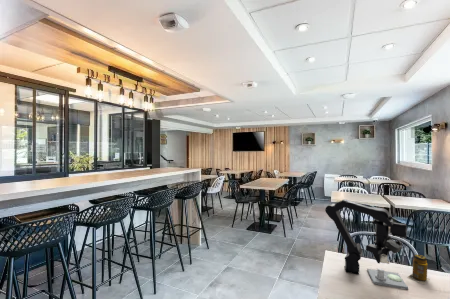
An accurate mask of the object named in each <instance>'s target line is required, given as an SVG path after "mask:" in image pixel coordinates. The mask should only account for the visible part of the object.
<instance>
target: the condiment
mask: <svg viewBox="0 0 450 299" xmlns="http://www.w3.org/2000/svg"><path fill="white" fill-rule="evenodd" d="M427 261H428V258H427V257H426V256H424V255H422V254H414V256H413V260H412V273H411V274H410V275H409V276H407V278H408V279H410V280H413V281H415V282H417V283H420V284H422V285H426V284H427V283H428V282H429V281H430V279H431V278H429V277H428V266H429V265H428V262H427Z"/></svg>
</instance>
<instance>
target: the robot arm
mask: <svg viewBox="0 0 450 299" xmlns="http://www.w3.org/2000/svg"><path fill="white" fill-rule="evenodd" d="M344 208H346V209H349V210H353V211H356V212H359V213H361V214H364V215H368V216H370V217H371V218H373V220H372V221H371V224H373V225H375V233H373V236H374V237H375V240H374V241H373V243H370V244H367V245H365V250H366V251H368V252H369V253H372V255H373V258H374V257H375V258H374V259H375V261H376V263H377V264H380V263H381V262H380V260H381V255H382V254H385V255H387V257H388V256H389V254H390V252H392V253H393V254H397V253H400V251H401V249H403V244H402V243H403V241H401V240H397V241H396V240H392V236H393V237H398V238H401V239H402V238H403V239H407V236H408V235H407V234H408V233H407V232H408V230H407V224H406V223H400V222H394V220H393V219H392V217H391V215H390V212H389V210H387V209H386V208H381V207H373V206H369V205H368V206H367V205H365V204H361V203H358V202H354V201H351V200H348V199H346V198H345V199H342V200H340V201H338V202H335V203H329V205H327V206H326V207H325V211H324V212H325V214H326V215H327V216H328V217H329V219H331V220H332V221H333V223H334V225H335V226H336V229H337V230H338V232H339V234H340V236H341V238H342V239H343V241H344V243H345V245H346V251H347V252H346V255H345V257H344V270H345V273H348V274H353V275H354V274H355V275H360V263H359V261H360V260H361V259H362V256H363V254H364V253H363V251H364V249H363V248H362V247H361V244H360V243H359V242H358V243H357V242H355V241H354V239H353V237H352V235H351V233H350V232H349V230H348V228H347V226H346V225H345V223H344V221H343V219H342V217H341V210H342V209H344ZM390 234H391V235H392V236H391V235H390Z"/></svg>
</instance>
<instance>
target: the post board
mask: <svg viewBox="0 0 450 299" xmlns="http://www.w3.org/2000/svg"><path fill="white" fill-rule="evenodd" d="M366 271H367V273H368V275H369V277H370V279H371V281H372V284H374V285H379V286H385V287H391V288H396V289H403V290H409V287H408V285H407V283H406V282H405V281H404V280H403V278H402V276H401V275H400V274H399V273H398V272H392V271H385V269H383V268H380V267H377V269H372V268H366Z"/></svg>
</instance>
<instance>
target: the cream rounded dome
mask: <svg viewBox="0 0 450 299" xmlns="http://www.w3.org/2000/svg"><path fill="white" fill-rule="evenodd" d="M373 258H374V259H375V257H374V256H373ZM380 263H382V264H387V265H388V264H389V265H390V263H391V262H390V261H388V256H387V255H385V254H382V255H381V260H380Z"/></svg>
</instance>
